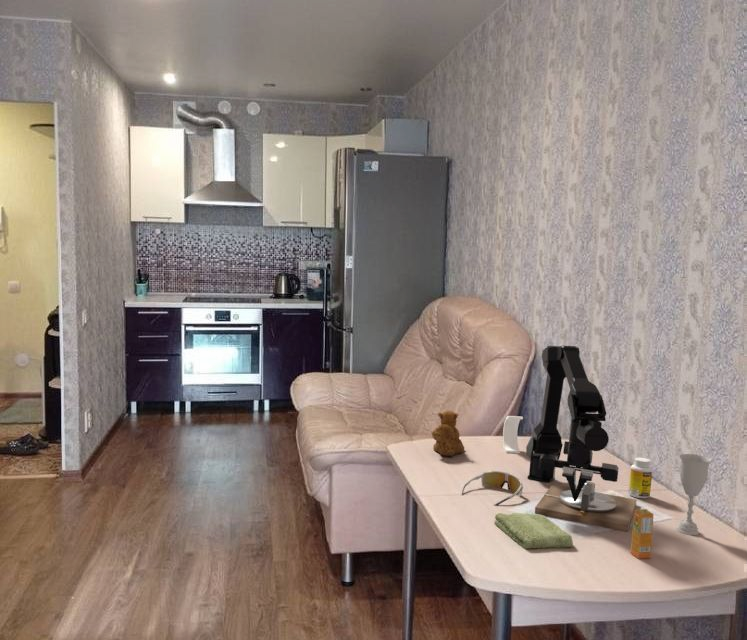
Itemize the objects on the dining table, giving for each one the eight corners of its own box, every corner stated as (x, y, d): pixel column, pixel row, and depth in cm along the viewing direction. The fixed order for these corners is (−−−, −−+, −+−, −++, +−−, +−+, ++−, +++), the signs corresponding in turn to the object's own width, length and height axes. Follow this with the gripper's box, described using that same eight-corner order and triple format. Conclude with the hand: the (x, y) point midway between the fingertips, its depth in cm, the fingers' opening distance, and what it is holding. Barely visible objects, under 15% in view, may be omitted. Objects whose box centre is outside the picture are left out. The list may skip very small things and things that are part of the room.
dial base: (534, 513, 186) (535, 506, 186) (552, 489, 206) (552, 483, 206) (627, 531, 177) (628, 524, 177) (636, 505, 197) (636, 498, 197)
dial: (562, 490, 201) (564, 472, 200) (617, 499, 196) (619, 480, 195) (554, 509, 185) (556, 489, 184) (613, 519, 180) (615, 499, 179)
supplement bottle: (641, 500, 202) (644, 463, 201) (624, 494, 206) (627, 457, 205) (654, 497, 205) (657, 461, 204) (637, 491, 209) (640, 455, 208)
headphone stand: (506, 452, 242) (509, 416, 241) (501, 447, 248) (504, 412, 247) (520, 453, 242) (523, 417, 241) (515, 448, 248) (518, 412, 247)
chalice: (689, 538, 175) (696, 463, 174) (665, 527, 181) (673, 455, 180) (710, 534, 179) (718, 460, 177) (686, 524, 185) (694, 453, 183)
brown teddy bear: (465, 449, 243) (468, 409, 242) (459, 460, 229) (462, 418, 228) (434, 446, 245) (437, 406, 244) (427, 456, 232) (430, 415, 230)
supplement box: (628, 552, 164) (633, 508, 163) (643, 552, 165) (647, 508, 164) (636, 559, 161) (641, 514, 160) (651, 558, 162) (655, 513, 161)
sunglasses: (530, 495, 200) (530, 478, 199) (500, 516, 189) (500, 498, 188) (485, 482, 209) (485, 465, 208) (454, 501, 198) (454, 483, 197)
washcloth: (540, 521, 182) (541, 508, 182) (576, 550, 165) (577, 536, 165) (490, 522, 179) (491, 509, 179) (521, 552, 162) (523, 538, 161)
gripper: (621, 437, 188) (615, 497, 190) (546, 426, 194) (540, 485, 196) (620, 448, 178) (613, 511, 180) (541, 436, 184) (535, 498, 186)
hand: (574, 500), depth 186 cm, fingers closed
